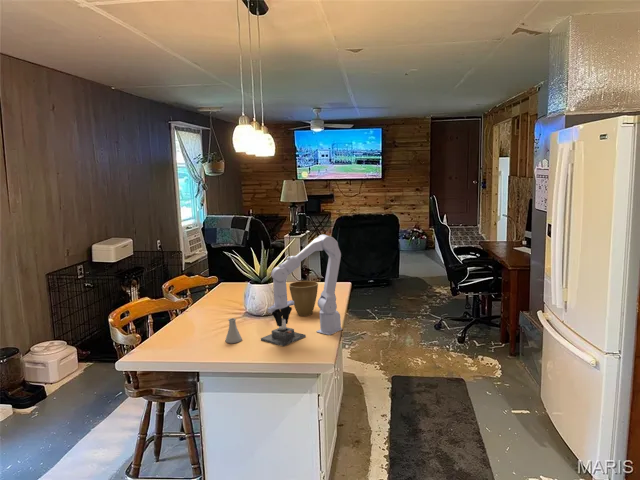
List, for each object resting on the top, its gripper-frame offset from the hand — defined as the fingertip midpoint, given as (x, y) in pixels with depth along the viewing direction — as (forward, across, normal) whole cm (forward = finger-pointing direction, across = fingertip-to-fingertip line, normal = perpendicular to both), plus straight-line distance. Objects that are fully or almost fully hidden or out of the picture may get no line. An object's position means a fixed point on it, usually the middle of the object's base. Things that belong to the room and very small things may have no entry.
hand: (282, 324), depth 213 cm
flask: (+7, +14, -17) cm, 23 cm away
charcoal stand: (+6, 0, 0) cm, 6 cm away
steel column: (+5, 0, 0) cm, 5 cm away
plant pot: (+7, -33, -17) cm, 38 cm away
